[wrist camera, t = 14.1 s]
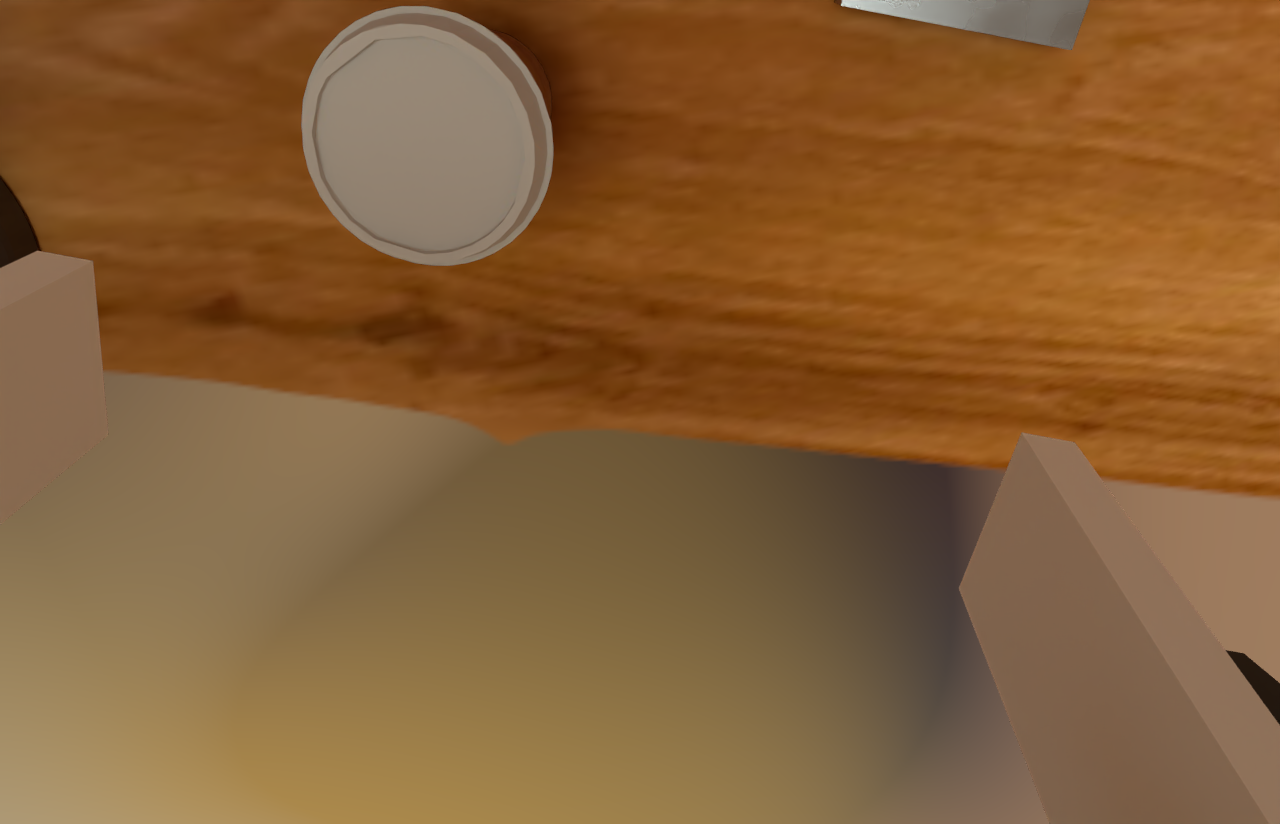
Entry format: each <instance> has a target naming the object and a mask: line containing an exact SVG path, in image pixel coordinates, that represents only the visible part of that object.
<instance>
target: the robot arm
mask: <svg viewBox="0 0 1280 824" xmlns="http://www.w3.org/2000/svg"><path fill="white" fill-rule="evenodd" d="M108 434H109V433H108V422H107V412H106V400H105V390H104V378H103V367H102V356H101V345H100V334H99V323H98V312H97V301H96V289H95V278H94V267H93V261H91V260H85V259H80V258H75V257H69V256H64V255H58V254H53V253H48V252H42V251H38V247H37V244H36V241H35V238H34V236H33V233H32V230H31V228H30V226H29V224H28V222H27V219H26V218H25V216H24V214H23V212H22V210H21V208H20V207H19V205H18V203H17V202H16V200H15V198H14V197H13V195H12V194H11V193H10V191H9V190H8V188H7V187H6V186H5V184H4V183H3V182H2V180H1V179H0V524H1V523H3V522H4V521H5V520H6V519H7V518H8V517H10V516H11V515H12V514H13V513H15V512H16V511H17V510H18V509H19V508H20V507H22V506H23V505H24V504H25V503H27V502H28V501H29V500H30V499H31V498H33V497H34V496H35V495H36V494H37V493H39V492H40V491H41V490H42V489H43V488H45V487H46V486H47V485H48V484H49V483H51V482H52V481H53V480H54V479H55V478H57V477H58V476H59V475H60V474H62V473H63V472H64V471H65V470H66V469H67V468H69V467H70V466H71V465H72V464H73V463H75V462H76V461H77V460H78V459H79V458H81V457H82V456H83V455H84V454H86V453H87V452H88V451H89V450H90V449H91V448H93V447H94V446H95V445H96V444H97V443H99V442H100V441H101V440H102V439H104V438H105V437H106V436H107V435H108ZM959 590H960V593H961V595H962V598H963V600H964V603H965V606H966V608H967V611H968V613H969V616H970V619H971V621H972V624H973V626H974V629H975V632H976V634H977V637H978V639H979V642H980V644H981V647H982V650H983V652H984V655H985V658H986V660H987V663H988V665H989V668H990V670H991V673H992V676H993V678H994V681H995V684H996V686H997V688H998V691H999V694H1000V696H1001V699H1002V701H1003V704H1004V707H1005V709H1006V712H1007V715H1008V717H1009V720H1010V722H1011V725H1012V728H1013V730H1014V733H1015V735H1016V738H1017V741H1018V743H1019V746H1020V748H1021V751H1022V754H1023V756H1024V759H1025V761H1026V764H1027V767H1028V769H1029V772H1030V774H1031V777H1032V780H1033V782H1034V785H1035V787H1036V790H1037V793H1038V795H1039V798H1040V800H1041V803H1042V805H1043V808H1044V811H1045V813H1046V816H1047V819H1048V821H1049V824H1280V683H1279V682H1278V681H1276V680H1275V679H1274V678H1273V677H1272V676H1270V675H1269V674H1268V673H1267V672H1266V671H1264V670H1263V669H1262V668H1261V667H1259V666H1258V665H1257V664H1256V663H1255V662H1253V661H1252V660H1251V659H1250V658H1248V657H1247V656H1246V655H1245V654H1243V653H1238V652H1233V651H1227V650H1225V649H1224V648H1223V646H1222V645H1221V644H1220V642H1219V641H1218V639H1217V638H1216V637H1215V635H1214V634H1213V633H1212V631H1211V630H1210V628H1209V627H1208V626H1207V624H1206V623H1205V622H1204V620H1203V619H1202V618H1201V616H1200V615H1199V613H1198V612H1197V610H1196V609H1195V608H1194V606H1193V605H1192V604H1191V602H1190V601H1189V600H1188V598H1187V597H1186V595H1185V594H1184V593H1183V591H1182V590H1181V588H1180V587H1179V586H1178V584H1177V583H1176V582H1175V580H1174V579H1173V577H1172V576H1171V575H1170V574H1169V572H1168V570H1167V569H1166V568H1165V566H1164V565H1163V564H1162V563H1161V561H1160V559H1159V558H1158V557H1157V555H1156V554H1155V553H1154V551H1153V550H1152V548H1151V547H1150V546H1149V544H1148V543H1147V541H1146V540H1145V539H1144V537H1143V536H1142V535H1141V533H1140V532H1139V530H1138V529H1137V528H1136V526H1135V525H1134V524H1133V522H1132V521H1131V520H1130V518H1129V517H1128V515H1127V514H1126V513H1125V511H1124V510H1123V509H1122V507H1121V506H1120V504H1119V503H1118V502H1117V500H1116V499H1115V497H1114V496H1113V495H1112V493H1111V492H1110V490H1109V489H1108V488H1107V486H1106V485H1105V484H1104V482H1103V481H1102V479H1101V478H1100V477H1099V475H1098V474H1097V473H1096V471H1095V470H1094V468H1093V467H1092V466H1091V464H1090V463H1089V461H1088V460H1087V459H1086V457H1085V456H1084V455H1083V453H1082V452H1081V450H1080V449H1079V448H1078V446H1077V445H1076V444H1075V442H1070V441H1064V440H1059V439H1054V438H1048V437H1043V436H1037V435H1032V434H1027V433H1021V435H1020V438H1019V440H1018V443H1017V445H1016V448H1015V450H1014V453H1013V455H1012V458H1011V460H1010V463H1009V465H1008V468H1007V470H1006V473H1005V475H1004V478H1003V480H1002V483H1001V485H1000V488H999V490H998V493H997V495H996V498H995V500H994V502H993V505H992V507H991V510H990V513H989V515H988V517H987V520H986V522H985V525H984V527H983V530H982V532H981V535H980V537H979V540H978V542H977V545H976V547H975V550H974V552H973V555H972V557H971V560H970V562H969V565H968V567H967V570H966V572H965V575H964V577H963V579H962V582H961V584H960V587H959Z"/></svg>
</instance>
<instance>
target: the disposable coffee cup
mask: <svg viewBox="0 0 1280 824" xmlns="http://www.w3.org/2000/svg"><path fill="white" fill-rule="evenodd" d="M551 112H552V95H551V90H550V85H549V81H548V79H547V77H546V74H545V72H544V69H543V67H542V66H541V64H540V63H539V61H538V60H537V58H536V57H535V55H534V54H533V53H532V52H531V51H530V50H529V49H528V48H527V47H526V46H525V45H523V44H522V43H521V42H519V41H518V40H517V39H515V38H513V37H511V36H510V35H508V34H506V33H502V32H499V31H495V30H490V29H487V28H485V27H484V26H482V25H481V24H479V23H477V22H475V21H473V20H471V19H469V18H466V17H464V16H462V15H460V14H458V13H454V12H450V11H445V10H441V9H437V8H432V7H428V6H399V7H394V8H389V9H385V10H381V11H377V12H374V13H372V14H370V15H368V16H366V17H363V18H361V19H359V20H357V21H355V22H354V23H353V24H351V25H350V26H348V27H347V28H346V29H344V30H343V31H341V32H340V33H339V34H338V35H337V36H336V37H335V38H334V39H333V41H332V42H331V43H330V44H329V45H328V46H327V47H326V48H325V49H324V51H323V52H322V54H321V55H320V57H319V58H318V60H317V62H316V63H315V66H314V68H313V70H312V72H311V75H310V77H309V79H308V83H307V87H306V91H305V94H304V98H303V106H302V123H301V126H302V135H303V150H304V154H305V158H306V162H307V166H308V170H309V173H310V175H311V177H312V180H313V182H314V184H315V186H316V188H317V191H318V193H319V195H320V197H321V198H322V200H323V201H324V202H325V204H326V205H327V207H328V208H329V210H330V211H331V212H332V214H333V215H334V216H335V217H336V218H337V219H338V221H339V222H340V223H341V224H342V225H343V226H344V227H345V228H347V229H348V230H349V231H350V232H351V233H353V234H354V235H355V236H356V237H357V238H359V239H360V240H361V241H363V242H364V243H366V244H368V245H370V246H371V247H373V248H375V249H377V250H378V251H380V252H383V253H385V254H388V255H390V256H393V257H395V258H399V259H403V260H407V261H410V262H413V263H418V264H425V265H433V266H451V265H458V264H464V263H469V262H473V261H476V260H479V259H482V258H484V257H486V256H489V255H491V254H494V253H495V252H497V251H498V250H500V249H501V248H503V247H504V246H506V245H508V244H509V243H511V242H512V241H513V240H514V239H515V238H516V237H517V236H518V235H519V234H520V233H521V232H522V231H523V230H524V229H525V228H526V227H527V225H528V224H529V223H530V221H531V220H532V218H533V217H534V215H535V214H536V213H537V211H538V210H539V208H540V205H541V203H542V201H543V199H544V196H545V194H546V192H547V188H548V185H549V182H550V178H551V173H552V165H553V156H554V151H553V135H552V124H551V121H550V117H551Z"/></svg>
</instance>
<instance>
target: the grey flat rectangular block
mask: <svg viewBox="0 0 1280 824" xmlns="http://www.w3.org/2000/svg"><path fill="white" fill-rule="evenodd" d="M834 2H835V3H837V4H839V5H841V6H846V7H851V8H856V9H861V10H866V11H871V12H877V13H882V14H887V15H892V16H897V17H902V18H908V19H913V20H918V21H923V22H928V23H933V24H939V25H944V26H949V27H954V28H959V29H964V30H970V31H975V32H980V33H985V34H990V35H996V36H1001V37H1006V38H1011V39H1016V40H1021V41H1027V42H1032V43H1037V44H1042V45H1047V46H1052V47H1058V48H1063V49H1068V50H1072V48H1073V45H1074V43H1075V40H1076V37H1077V34H1078V31H1079V29H1080V26H1081V23H1082V20H1083V17H1084V14H1085V12H1086V9H1087V6H1088V3H1089V0H834Z"/></svg>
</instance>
